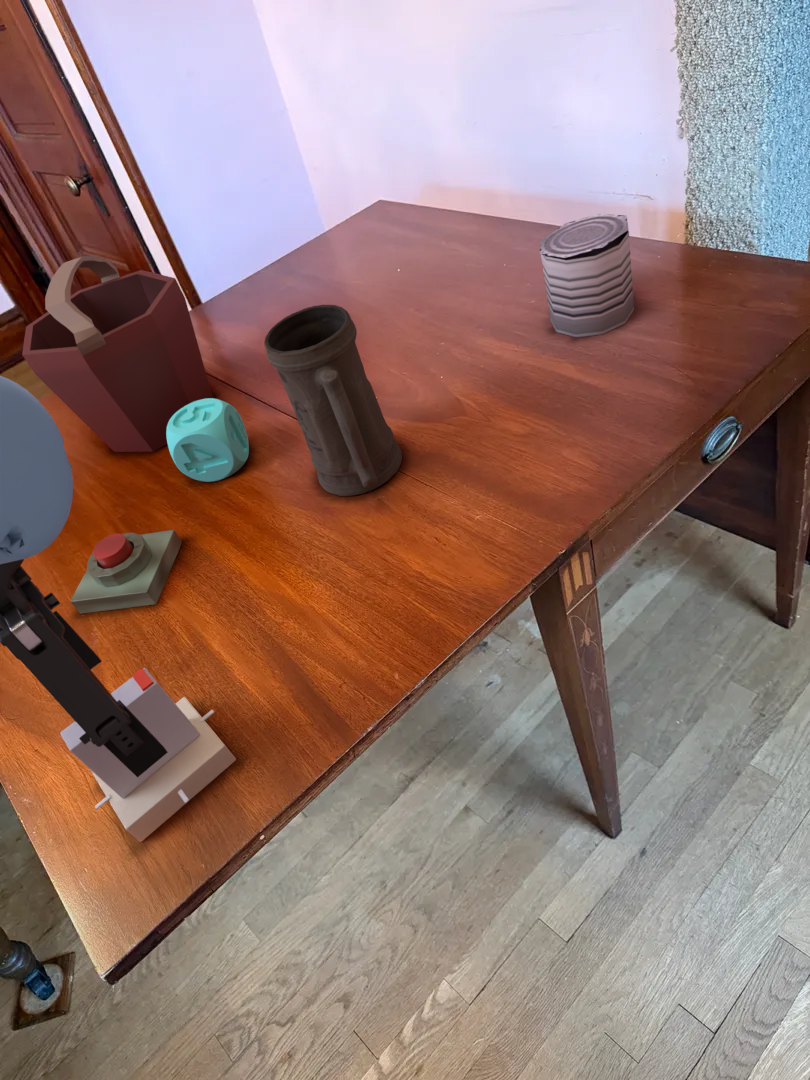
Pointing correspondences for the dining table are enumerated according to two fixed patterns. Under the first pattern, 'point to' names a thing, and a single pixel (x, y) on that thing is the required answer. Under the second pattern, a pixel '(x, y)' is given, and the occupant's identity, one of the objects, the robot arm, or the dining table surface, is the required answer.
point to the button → (112, 550)
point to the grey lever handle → (154, 715)
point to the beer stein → (333, 399)
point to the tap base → (171, 779)
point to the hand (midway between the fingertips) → (116, 712)
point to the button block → (129, 575)
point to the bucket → (118, 353)
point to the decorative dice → (207, 440)
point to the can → (588, 275)
